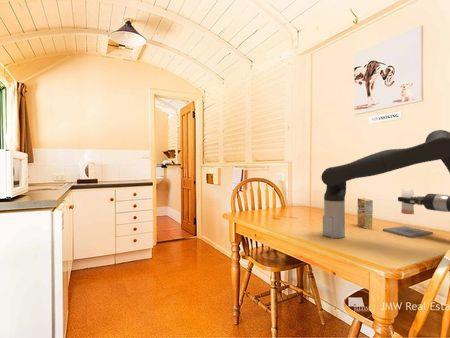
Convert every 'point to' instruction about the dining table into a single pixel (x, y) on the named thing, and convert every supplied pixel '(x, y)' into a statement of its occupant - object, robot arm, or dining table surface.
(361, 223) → the candy box
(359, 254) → the dining table surface
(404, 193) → the white cylindrical lamp
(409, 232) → the mat
